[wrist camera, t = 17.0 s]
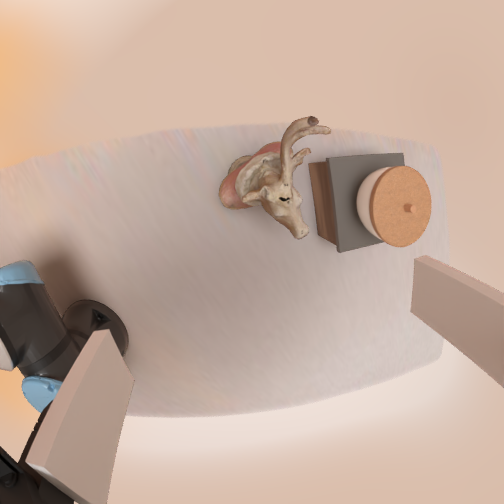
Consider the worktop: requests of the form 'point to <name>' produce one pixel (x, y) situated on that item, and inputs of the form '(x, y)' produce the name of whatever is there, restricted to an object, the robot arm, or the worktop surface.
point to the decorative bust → (272, 178)
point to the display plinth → (345, 197)
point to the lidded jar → (394, 205)
